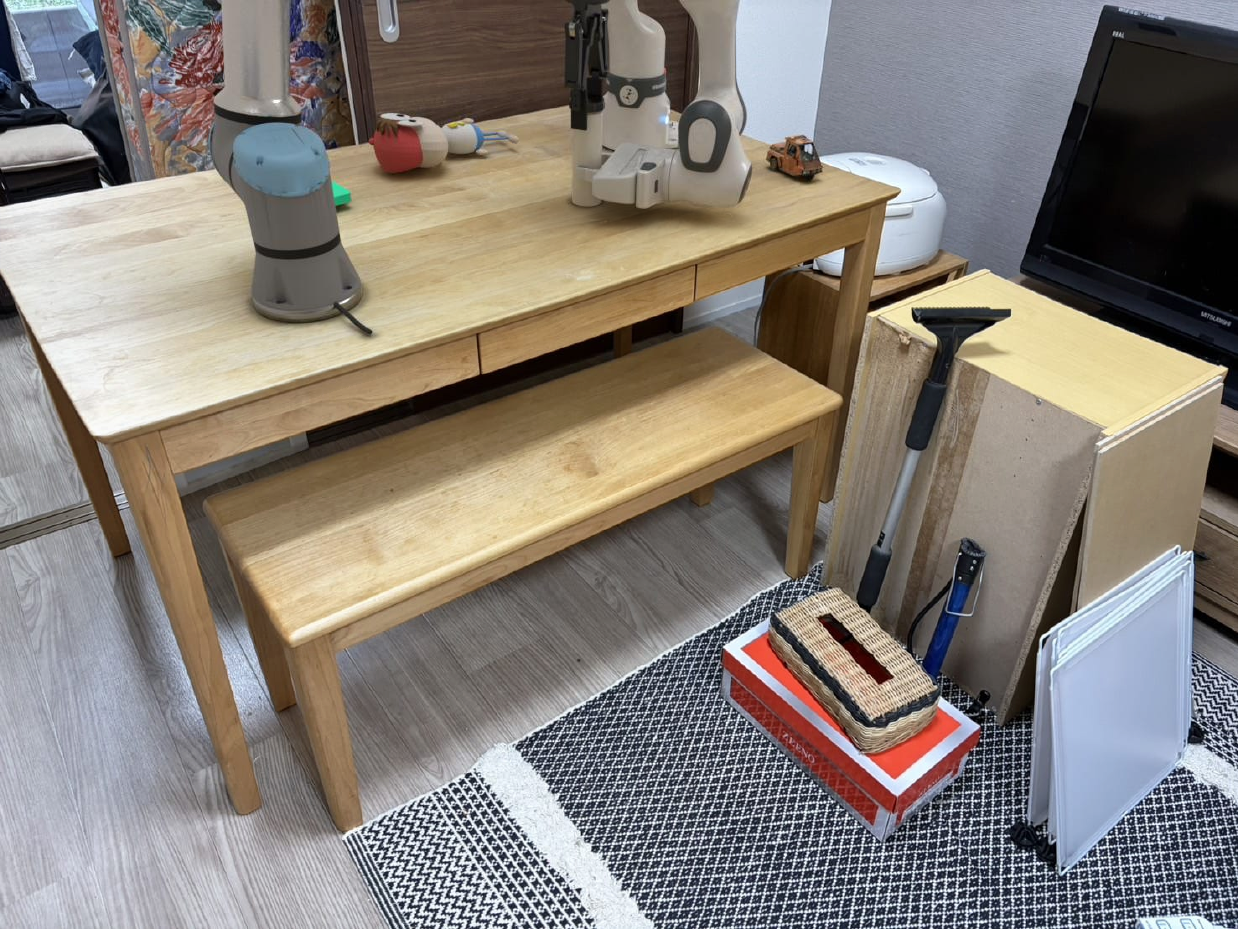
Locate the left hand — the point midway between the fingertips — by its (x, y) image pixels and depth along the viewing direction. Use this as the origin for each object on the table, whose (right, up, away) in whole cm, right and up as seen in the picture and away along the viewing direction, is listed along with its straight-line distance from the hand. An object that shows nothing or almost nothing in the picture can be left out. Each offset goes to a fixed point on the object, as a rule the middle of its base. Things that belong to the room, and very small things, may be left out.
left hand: (586, 122), depth 160 cm
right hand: (-1, -6, +5) cm, 8 cm away
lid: (0, +3, -2) cm, 4 cm away
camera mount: (-48, -13, +4) cm, 50 cm away
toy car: (+40, -2, +23) cm, 46 cm away
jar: (0, -11, +8) cm, 14 cm away
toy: (-29, +1, +24) cm, 38 cm away
